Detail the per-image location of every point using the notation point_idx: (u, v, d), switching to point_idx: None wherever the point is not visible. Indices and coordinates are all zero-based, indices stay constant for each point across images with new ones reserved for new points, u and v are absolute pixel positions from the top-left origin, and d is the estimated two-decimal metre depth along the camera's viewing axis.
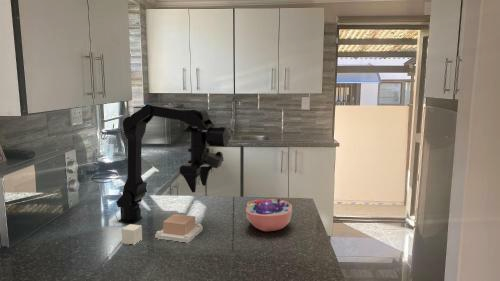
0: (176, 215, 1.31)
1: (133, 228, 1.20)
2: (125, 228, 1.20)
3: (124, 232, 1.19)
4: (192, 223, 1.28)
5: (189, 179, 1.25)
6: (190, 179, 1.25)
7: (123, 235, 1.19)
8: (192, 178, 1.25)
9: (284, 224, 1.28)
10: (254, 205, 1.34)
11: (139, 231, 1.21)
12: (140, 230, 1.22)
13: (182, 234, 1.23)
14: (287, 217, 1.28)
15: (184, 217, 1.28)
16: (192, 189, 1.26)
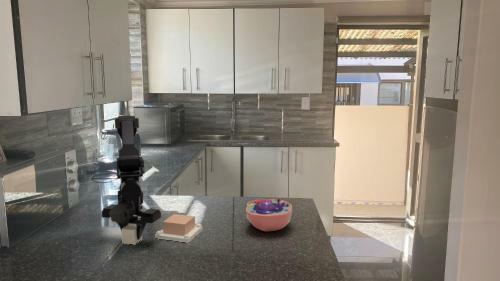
0: (176, 215, 1.31)
1: (133, 228, 1.20)
2: (125, 228, 1.20)
3: (124, 232, 1.19)
4: (192, 223, 1.28)
5: (123, 222, 1.23)
6: None
7: (123, 235, 1.19)
8: None
9: (284, 224, 1.28)
10: (254, 205, 1.34)
11: None
12: None
13: (182, 234, 1.23)
14: (287, 217, 1.28)
15: (184, 217, 1.28)
16: None
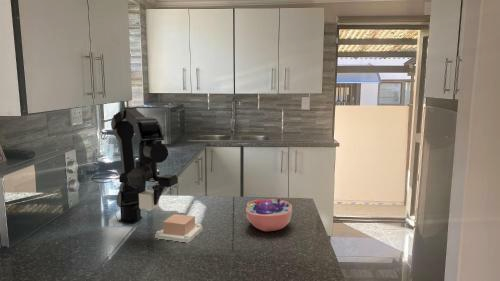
0: (176, 215, 1.31)
1: (150, 193, 1.20)
2: (142, 193, 1.20)
3: (141, 197, 1.20)
4: (192, 223, 1.28)
5: None
6: None
7: (140, 200, 1.20)
8: None
9: (284, 224, 1.28)
10: (254, 205, 1.34)
11: None
12: None
13: (182, 234, 1.23)
14: (287, 217, 1.28)
15: (184, 217, 1.28)
16: None
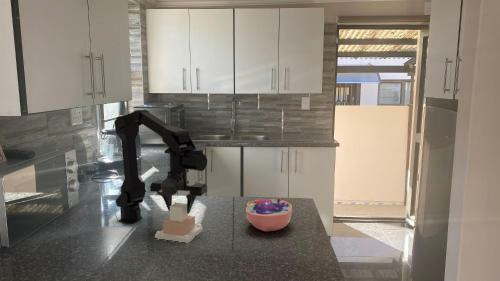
0: None
1: (180, 206, 1.25)
2: (173, 206, 1.25)
3: (172, 209, 1.25)
4: (192, 223, 1.28)
5: None
6: None
7: (171, 212, 1.25)
8: None
9: (284, 224, 1.28)
10: (254, 205, 1.34)
11: (185, 209, 1.26)
12: None
13: (182, 234, 1.23)
14: (287, 217, 1.28)
15: None
16: None
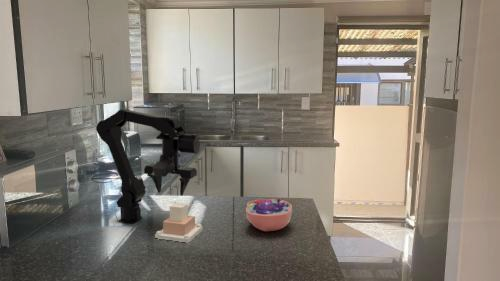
0: None
1: (180, 206, 1.25)
2: (173, 206, 1.25)
3: (172, 209, 1.25)
4: (192, 223, 1.28)
5: None
6: None
7: (171, 212, 1.25)
8: None
9: (284, 224, 1.28)
10: (254, 205, 1.34)
11: (185, 209, 1.26)
12: (187, 208, 1.27)
13: (182, 234, 1.23)
14: (287, 217, 1.28)
15: None
16: None
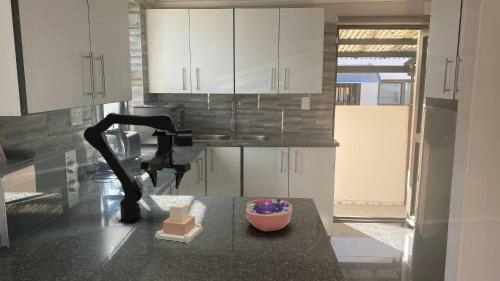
0: None
1: (180, 206, 1.25)
2: (173, 206, 1.25)
3: (172, 209, 1.25)
4: (192, 223, 1.28)
5: None
6: None
7: (171, 212, 1.25)
8: None
9: (284, 224, 1.28)
10: (254, 205, 1.34)
11: (185, 209, 1.26)
12: (187, 208, 1.27)
13: (182, 234, 1.23)
14: (287, 217, 1.28)
15: None
16: None
